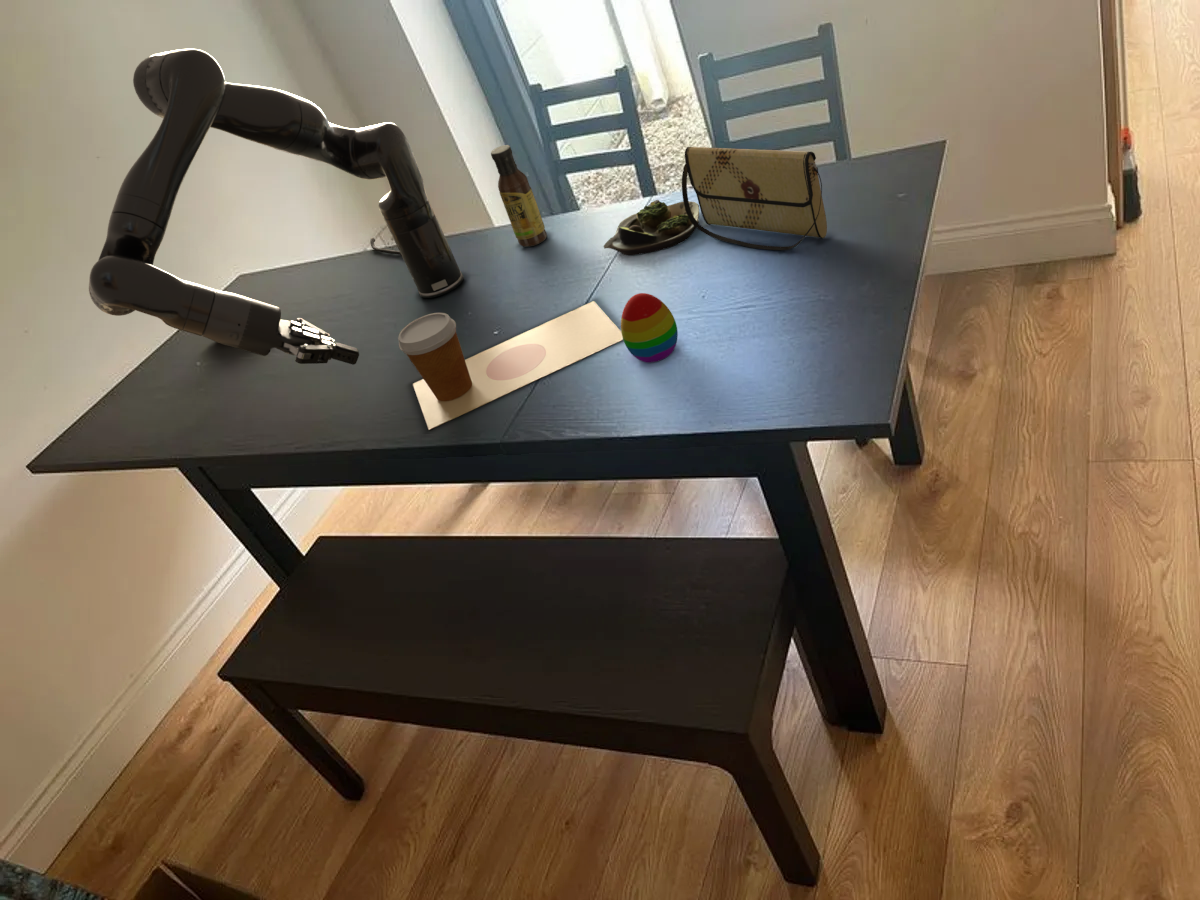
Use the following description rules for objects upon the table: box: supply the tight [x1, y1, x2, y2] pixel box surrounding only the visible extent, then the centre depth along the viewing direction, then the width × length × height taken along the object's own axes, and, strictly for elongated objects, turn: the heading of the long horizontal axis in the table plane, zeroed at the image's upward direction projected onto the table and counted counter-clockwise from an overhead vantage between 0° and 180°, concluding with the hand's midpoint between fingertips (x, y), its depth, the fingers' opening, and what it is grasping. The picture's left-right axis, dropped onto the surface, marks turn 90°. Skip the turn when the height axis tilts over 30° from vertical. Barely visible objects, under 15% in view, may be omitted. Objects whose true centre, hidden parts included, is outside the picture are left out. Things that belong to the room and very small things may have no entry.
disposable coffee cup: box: [397, 312, 472, 401], centre depth 149 cm, size 10×10×12 cm
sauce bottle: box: [490, 144, 548, 248], centre depth 187 cm, size 6×6×20 cm
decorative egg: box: [620, 292, 679, 364], centre depth 139 cm, size 8×8×10 cm
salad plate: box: [603, 199, 700, 256], centre depth 177 cm, size 19×18×5 cm
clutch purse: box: [681, 146, 828, 251], centre depth 158 cm, size 30×7×15 cm, turn 43°
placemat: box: [412, 300, 624, 431], centre depth 154 cm, size 17×34×1 cm, turn 109°
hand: (357, 357), depth 145 cm, fingers closed
